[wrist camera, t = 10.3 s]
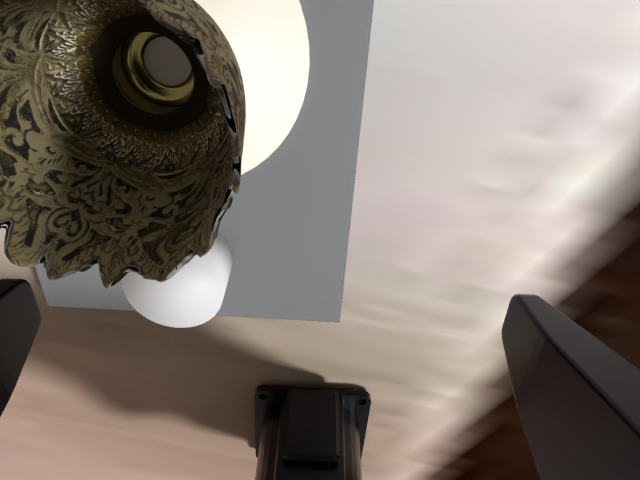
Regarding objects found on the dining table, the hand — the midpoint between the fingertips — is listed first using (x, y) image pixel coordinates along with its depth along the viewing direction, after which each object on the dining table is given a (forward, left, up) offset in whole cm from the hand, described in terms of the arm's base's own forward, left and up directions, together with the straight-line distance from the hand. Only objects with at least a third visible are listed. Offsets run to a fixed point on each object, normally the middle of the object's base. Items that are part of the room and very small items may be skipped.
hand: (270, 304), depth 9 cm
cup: (+2, +5, -11) cm, 12 cm away
